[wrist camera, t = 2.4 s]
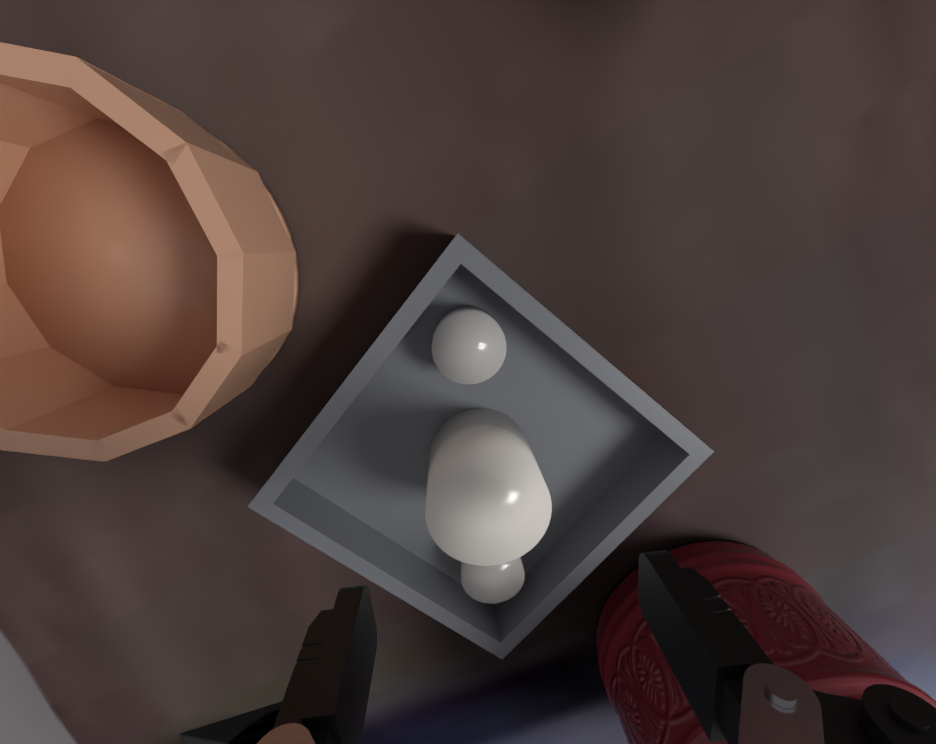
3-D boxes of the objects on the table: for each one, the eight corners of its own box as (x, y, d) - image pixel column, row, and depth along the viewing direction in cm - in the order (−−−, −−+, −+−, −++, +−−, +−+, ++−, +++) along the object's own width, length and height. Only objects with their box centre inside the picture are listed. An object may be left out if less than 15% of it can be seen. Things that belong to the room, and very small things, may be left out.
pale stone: (548, 446, 22) (577, 501, 17) (485, 515, 23) (496, 586, 18) (472, 388, 21) (480, 429, 16) (409, 462, 22) (399, 522, 17)
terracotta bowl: (355, 246, 19) (319, 245, 14) (209, 449, 22) (126, 519, 16) (84, 31, 17) (-99, -79, 11) (-50, 289, 19) (-258, 306, 13)
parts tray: (679, 425, 23) (714, 451, 20) (495, 612, 25) (502, 659, 22) (456, 235, 19) (457, 233, 16) (273, 473, 22) (247, 506, 19)
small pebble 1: (515, 336, 20) (521, 344, 18) (470, 385, 21) (472, 398, 19) (463, 290, 19) (465, 295, 18) (418, 343, 20) (416, 353, 18)
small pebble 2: (531, 549, 23) (537, 574, 22) (491, 587, 24) (495, 613, 22) (487, 517, 23) (490, 540, 21) (448, 556, 23) (448, 581, 22)
